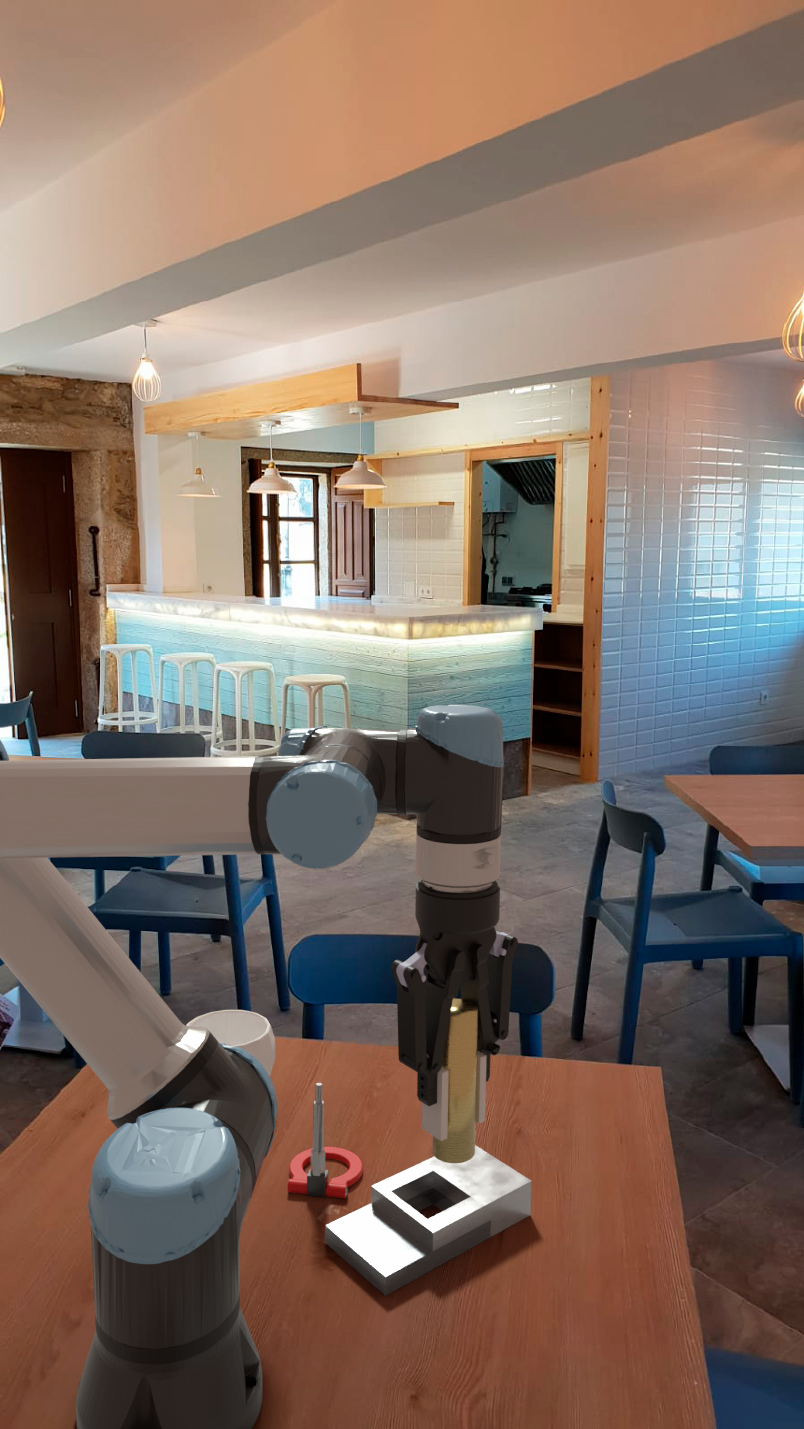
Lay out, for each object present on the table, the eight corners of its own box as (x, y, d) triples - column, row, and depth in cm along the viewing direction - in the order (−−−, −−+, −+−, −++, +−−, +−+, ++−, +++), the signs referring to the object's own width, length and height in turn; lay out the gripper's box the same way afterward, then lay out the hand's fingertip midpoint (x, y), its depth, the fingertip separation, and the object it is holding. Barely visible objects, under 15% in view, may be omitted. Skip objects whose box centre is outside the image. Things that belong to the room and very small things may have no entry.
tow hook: (299, 1152, 125) (278, 1195, 116) (300, 1049, 124) (280, 1084, 115) (368, 1159, 124) (353, 1203, 115) (370, 1055, 123) (355, 1091, 113)
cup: (160, 1103, 135) (158, 1032, 134) (227, 1065, 145) (226, 999, 144) (229, 1133, 128) (228, 1059, 127) (295, 1091, 138) (294, 1023, 137)
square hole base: (385, 1296, 100) (385, 1258, 100) (325, 1243, 108) (325, 1207, 107) (530, 1215, 113) (531, 1180, 112) (467, 1172, 120) (468, 1140, 120)
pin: (451, 1168, 94) (454, 1021, 92) (422, 1148, 97) (424, 1006, 95) (483, 1153, 96) (487, 1009, 94) (454, 1134, 99) (457, 994, 97)
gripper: (410, 910, 84) (408, 1177, 88) (554, 872, 95) (547, 1111, 99) (355, 887, 90) (355, 1138, 94) (497, 854, 101) (491, 1080, 104)
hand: (453, 1124), depth 96 cm, fingers closed on pin, 4 cm apart
